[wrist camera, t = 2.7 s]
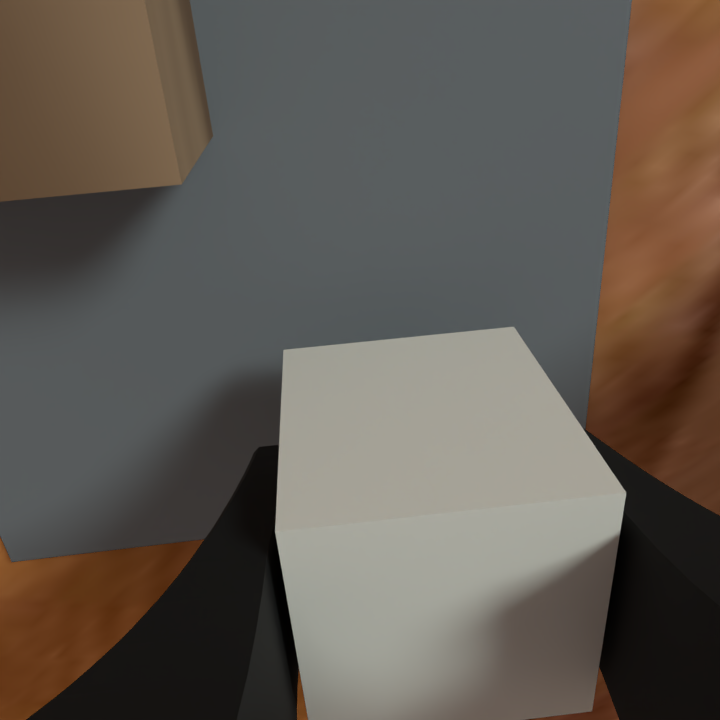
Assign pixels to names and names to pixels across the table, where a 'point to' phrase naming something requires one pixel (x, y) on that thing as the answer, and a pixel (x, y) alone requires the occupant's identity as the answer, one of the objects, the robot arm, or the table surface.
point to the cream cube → (441, 531)
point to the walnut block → (98, 96)
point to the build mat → (302, 247)
